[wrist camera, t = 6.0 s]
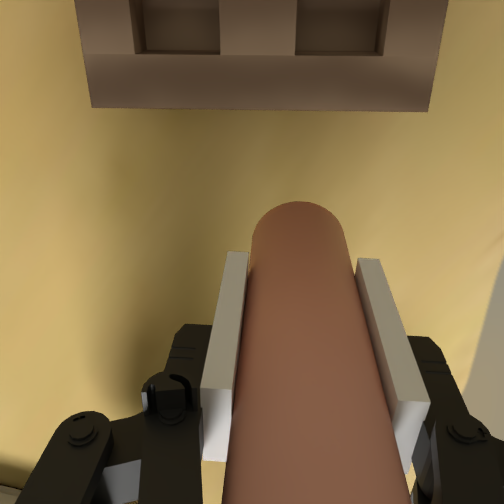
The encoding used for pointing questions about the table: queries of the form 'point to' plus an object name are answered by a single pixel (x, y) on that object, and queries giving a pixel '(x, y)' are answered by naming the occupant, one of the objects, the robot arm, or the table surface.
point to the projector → (8, 495)
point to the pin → (308, 375)
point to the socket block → (261, 53)
